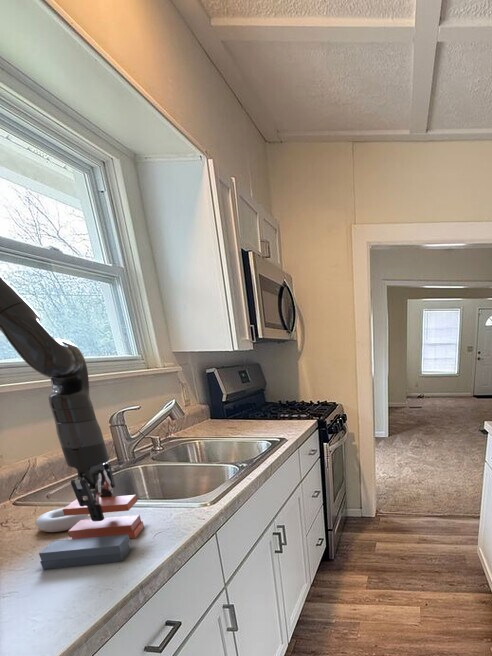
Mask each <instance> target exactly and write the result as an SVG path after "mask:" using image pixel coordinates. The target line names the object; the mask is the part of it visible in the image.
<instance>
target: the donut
mask: <svg viewBox="0 0 492 656" xmlns="http://www.w3.org/2000/svg"><path fill="white" fill-rule="evenodd" d="M64 508H65V507H61V508H56V509H53V510H50V511H47V512H45V513H43V514H41V515H39V516H38V517H37V519H36V522H35V525H36V527H37V528H38V529H39V530H40V531H42V532H46V533H59V532H65V531H69V530H70V529H71V528H72V527H73V526H74V525H75V524H77V523H78V522H79V521H80V520H87V519H88V514H82V515H70V516H65V515H64V512H63V509H64Z"/></svg>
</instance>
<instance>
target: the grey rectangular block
mask: <svg viewBox="0 0 492 656" xmlns="http://www.w3.org/2000/svg"><path fill="white" fill-rule="evenodd" d="M130 543H131V538H129V535H128V534H126V535H115V536H104V537H93V538H82V539H72V538H71V539H61V540H53V541H51V543H49V544H48V545H47V546H45V548H43V549H42V550H41V551H40V552H39V553H38V555H39V559H40V561H39V563H40V565H41V568H42V570H52V569H62V568H71V567H80V566H91V565H98V564H99V565H101V564H109V563H119V562H123V560H124V559H125V558H126V556H127V555H128V554H129V553H130V551H131V545H130Z"/></svg>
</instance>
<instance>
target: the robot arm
mask: <svg viewBox="0 0 492 656" xmlns="http://www.w3.org/2000/svg"><path fill="white" fill-rule="evenodd" d="M40 322H41V317H40V315H39V314H38V312H37V311H36V310H35V309H34V308H33V306H31V305H30V304H29V303H28V301H26V299H25V298H23V296H22V295H20V294H19V293H18V292H17V291H16V290H15V289H14V287H13V286H11V285H10V283H9V282H8V281H6V280H5V279H4V278H3V277H2V276H1V275H0V332H1V333H2V334H3V336H4V337H5V338H6V340H7V342H8V343H9V344H10V345H11V346H12V348H13V349H14V350H15V352H16V353H17V354H18V355H19V356H20V357H21V359H22V360H23V361H24V362H25V363H26V364H27V366H29V367H30V368H31V369H32V370H34V371H35V372H37V373H38V374H40V375H42V376H44V377H46V378H50V384H51V391H50V393H49V394H48V396H47V399H48V400H47V401H48V405H49V408H50V412H51V415H52V418H53V421H54V424H55V425H54V426H55V430H56V431H55V432H56V435H57V439H58V441H59V445H60V449H61V450H62V451H61V452H62V453H63V457H64V459H65V463H66V465H67V466H68V467H69V468H74V469H76V472H77V478H76V479H71V480H70V485H71V487H72V490H73V492H74V494H75V497H76V499H77V500H78V502H79V505H80V506H87V507H88V510H89V513H90V514H89V516H90V519H92V521H102V520H103V519H104V518H105V515H104V513H103V512H102V509H101V506H100V504H99V498H100V497H113V496H114V495H113V493H114V489H115V488H116V484H115V479H114V474H113V469H112V465H111V463H110V462H109V460H110V458H109V457H110V456H109V454H108V449H107V446H106V443H105V439H104V436H103V432H102V428H101V427H100V424H99V422H98V419H97V417H96V413H95V409H94V405H93V403H92V399H91V397H90V395H91V394H90V381H89V379H90V378H89V371H88V365H87V362H86V359H85V356H84V354H83V353H82V351H81V350H80V348H79V347H78V346H77V345H75V344H74V343H72V342H71V341H69V340H65V339H60V338H55V337H54V336H53V335H52V334H50V332H48V331H47V329H46V328H45V327H44V326H43V325H42V323H40ZM83 499H84V500H83Z"/></svg>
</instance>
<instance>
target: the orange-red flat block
mask: <svg viewBox="0 0 492 656" xmlns="http://www.w3.org/2000/svg"><path fill="white" fill-rule="evenodd" d="M144 528H145V525H144V522H143V520H142V519H141V516H140V514H136V515H135V514H134V515H122V516H112V517H104V519H103V520H102V521H92V519H91V518H87V520H80V521H79V522H78V523H77V524H75V525H74V526H73V527H72V528H71V529H69V530H67V533H68V535H69V538H71V540H72V539H82V538H93V537H104V536H115V535H126V534H128V535H129V539H136V538H137V537H138V536H139V534H140V533H141V532H142V530H143V529H144Z"/></svg>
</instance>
